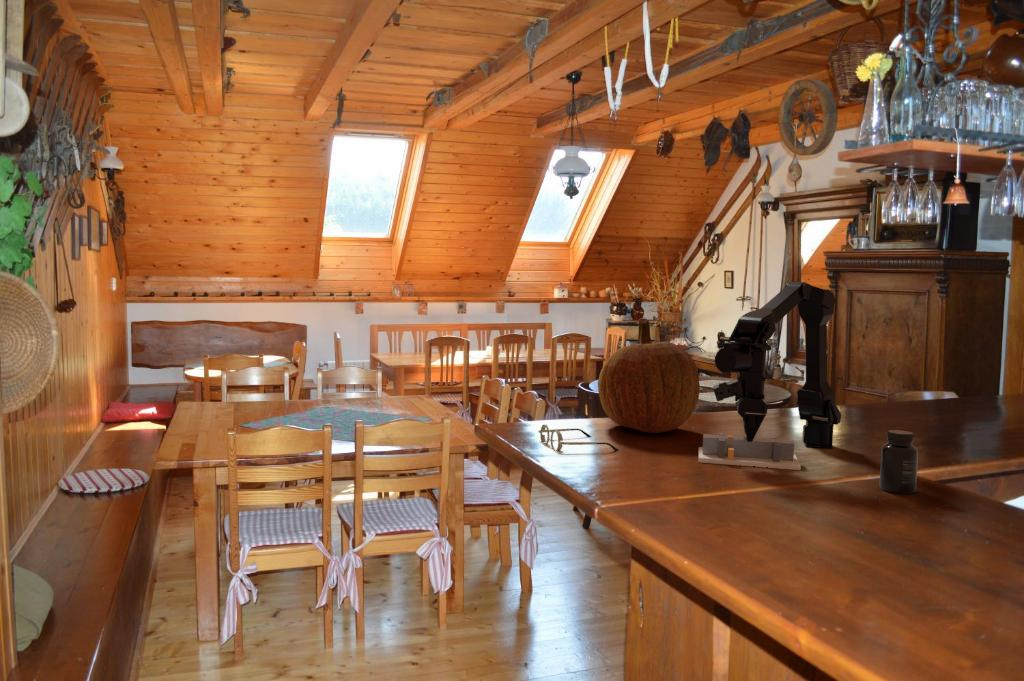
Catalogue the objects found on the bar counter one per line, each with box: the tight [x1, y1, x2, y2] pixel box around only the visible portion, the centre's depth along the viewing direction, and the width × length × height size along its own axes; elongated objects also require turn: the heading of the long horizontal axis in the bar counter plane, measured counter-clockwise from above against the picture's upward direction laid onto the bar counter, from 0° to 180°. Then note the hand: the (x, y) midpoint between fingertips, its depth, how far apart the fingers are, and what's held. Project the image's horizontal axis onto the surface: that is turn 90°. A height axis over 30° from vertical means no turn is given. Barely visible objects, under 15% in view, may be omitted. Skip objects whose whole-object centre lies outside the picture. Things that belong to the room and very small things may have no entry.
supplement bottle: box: [878, 429, 919, 495], centre depth 169 cm, size 7×7×12 cm
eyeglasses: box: [538, 424, 620, 452], centre depth 203 cm, size 17×15×5 cm
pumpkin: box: [597, 317, 701, 434], centre depth 223 cm, size 27×27×30 cm
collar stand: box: [698, 432, 802, 471], centre depth 192 cm, size 22×12×5 cm, turn 77°
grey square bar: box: [702, 433, 795, 461], centre depth 192 cm, size 20×4×4 cm, turn 77°
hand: (748, 437), depth 192 cm, fingers open, 9 cm apart
